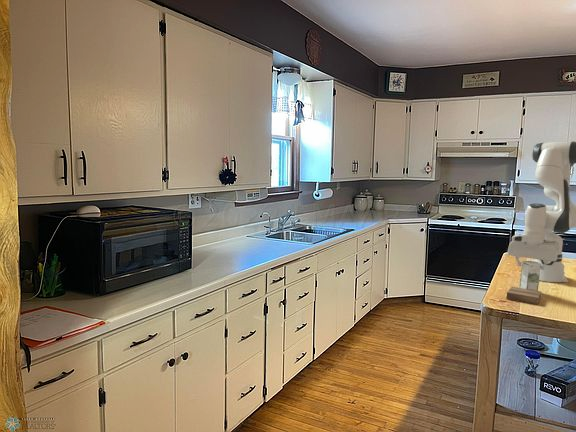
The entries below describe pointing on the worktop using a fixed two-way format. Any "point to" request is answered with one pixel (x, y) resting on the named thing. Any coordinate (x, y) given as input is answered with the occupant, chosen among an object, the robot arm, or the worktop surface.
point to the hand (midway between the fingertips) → (530, 267)
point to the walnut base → (524, 295)
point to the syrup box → (530, 275)
